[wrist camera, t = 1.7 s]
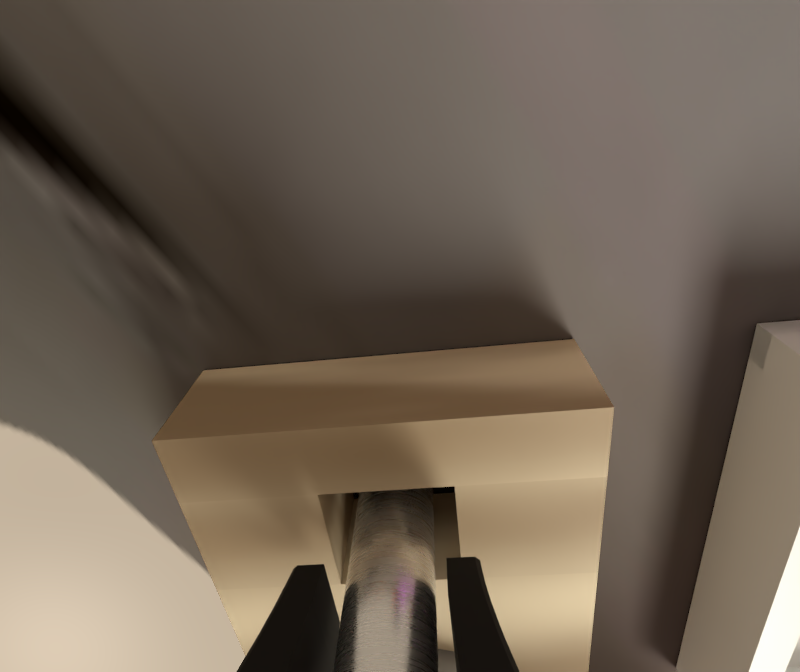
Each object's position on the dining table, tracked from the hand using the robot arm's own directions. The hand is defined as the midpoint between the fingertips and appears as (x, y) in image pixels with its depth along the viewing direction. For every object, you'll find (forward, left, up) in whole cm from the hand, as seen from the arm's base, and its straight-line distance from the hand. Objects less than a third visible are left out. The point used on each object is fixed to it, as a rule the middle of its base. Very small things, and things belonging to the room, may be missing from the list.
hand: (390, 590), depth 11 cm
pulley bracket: (-4, 0, -4) cm, 6 cm away
